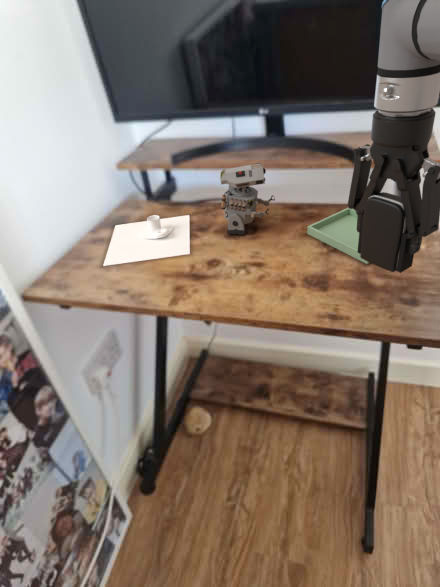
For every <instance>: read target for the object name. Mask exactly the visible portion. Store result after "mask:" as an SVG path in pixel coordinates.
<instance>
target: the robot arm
mask: <svg viewBox="0 0 440 587" xmlns="http://www.w3.org/2000/svg"><path fill="white" fill-rule="evenodd" d="M379 32H380V34H379V45H378V46H379V47H378V57H377V73H376V82H375V93H374V101H373V107H374V108H375V109H376V110H375V111H374V113H373V114H372V120H371V121H372V122H371V131H370V139H371V141H372V144H371V145H370V144H369V143H366V144H364V145H361V146H358V147H356V148H354V149H353V162H354V164H353V165H354V166H353V171H352V177H351V183H350V188H349V195H348V200H347V208H348V207H349V208H350V209H354V210H355V211H356V214H357V215H358V217H357V232H359V241H358V252H357V253H360V254H361V246H362V227H363V215H364V207H365V203H366V201H367V200H368V198H369V197H371V196H373V195H376V194H378V193H382V190H383V189H384V187H385V185H386V183H387V180H391V181H393V182H394V183H396V188H397V190H398V191H400V197H402V202H403V208H404V213H405V219H406V225H407V232H405V233H403V234H402V238H401V245H400V251H399V257H398V263H397V269H396V272H397V273H400V274H401V273H403V272H404V271H406V270H408V269H410V268H411V267H413V262H414V256H415V254H416V253H419V251H420V250H421V246H422V241H423V238H425V237H428V236H430V235H431V234H433V233H435V232H437V231H438V230H439V227H440V162H438V161H436V160H435V159H432V158H431V157H430V152H429V148H428V147H429V143H430V141H431V139H432V136H433V130H434V126H435V125H434V124H435V119H436V111H435V109H434V107H436V106H437V105H438V104H439V98H440V0H383V1H382V3H381V21H380V31H379ZM372 162H373V164H374V167H373V169H372V171H371V168H372ZM422 169H423V173H422V176H421V170H422ZM370 172H371V173H370ZM422 178H424V179H423V182H422ZM421 183H422V189H421V186H420V185H421ZM421 190H422V191H421Z"/></svg>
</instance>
